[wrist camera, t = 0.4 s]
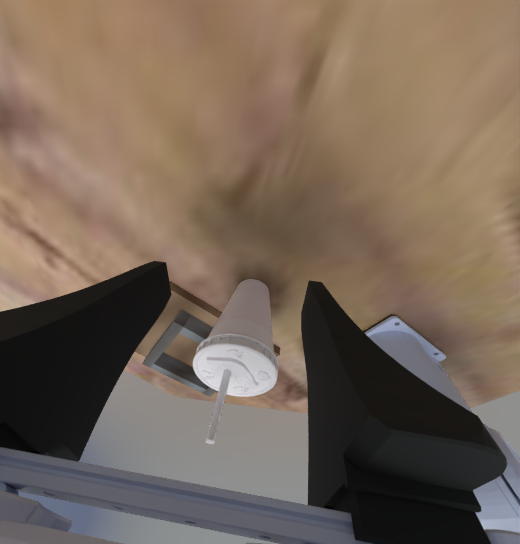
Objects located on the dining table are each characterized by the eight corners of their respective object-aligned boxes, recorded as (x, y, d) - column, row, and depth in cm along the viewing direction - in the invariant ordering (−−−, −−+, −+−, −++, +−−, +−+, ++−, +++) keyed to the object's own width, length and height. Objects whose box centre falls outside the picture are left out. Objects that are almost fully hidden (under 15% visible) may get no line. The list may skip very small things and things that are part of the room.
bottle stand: (279, 348, 28) (278, 369, 26) (224, 388, 35) (219, 408, 32) (170, 281, 24) (156, 298, 22) (131, 342, 31) (117, 360, 28)
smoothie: (247, 256, 21) (198, 402, 10) (294, 292, 23) (300, 453, 11) (213, 293, 24) (144, 438, 13) (257, 322, 26) (231, 474, 14)
